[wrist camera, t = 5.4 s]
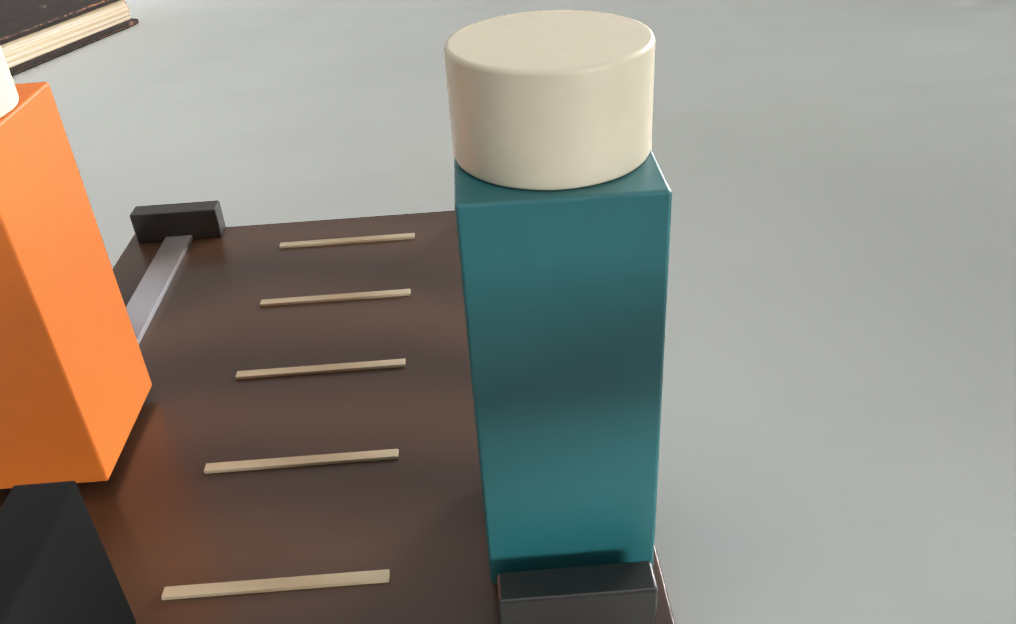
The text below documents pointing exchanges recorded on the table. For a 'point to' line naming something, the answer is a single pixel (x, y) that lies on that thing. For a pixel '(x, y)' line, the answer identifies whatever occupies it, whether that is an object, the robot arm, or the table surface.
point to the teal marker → (561, 281)
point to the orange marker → (57, 309)
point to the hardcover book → (55, 27)
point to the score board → (316, 436)
